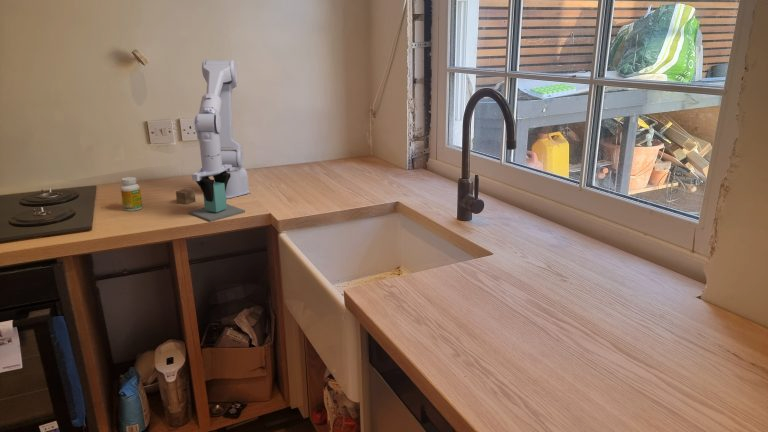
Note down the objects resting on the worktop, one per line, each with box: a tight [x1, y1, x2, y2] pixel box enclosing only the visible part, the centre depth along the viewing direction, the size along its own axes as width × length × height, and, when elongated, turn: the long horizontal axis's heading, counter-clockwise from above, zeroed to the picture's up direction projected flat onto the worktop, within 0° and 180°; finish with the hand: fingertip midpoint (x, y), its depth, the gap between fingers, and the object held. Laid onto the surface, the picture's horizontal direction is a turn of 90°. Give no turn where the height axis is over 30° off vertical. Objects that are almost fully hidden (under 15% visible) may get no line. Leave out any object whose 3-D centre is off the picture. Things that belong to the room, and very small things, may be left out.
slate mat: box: [188, 203, 246, 222], centre depth 158 cm, size 12×12×1 cm
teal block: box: [202, 181, 227, 212], centre depth 157 cm, size 4×4×8 cm
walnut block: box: [175, 188, 197, 206], centre depth 168 cm, size 4×4×4 cm
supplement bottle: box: [120, 176, 143, 212], centre depth 161 cm, size 5×5×10 cm
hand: (215, 198), depth 157 cm, fingers closed on teal block, 4 cm apart
